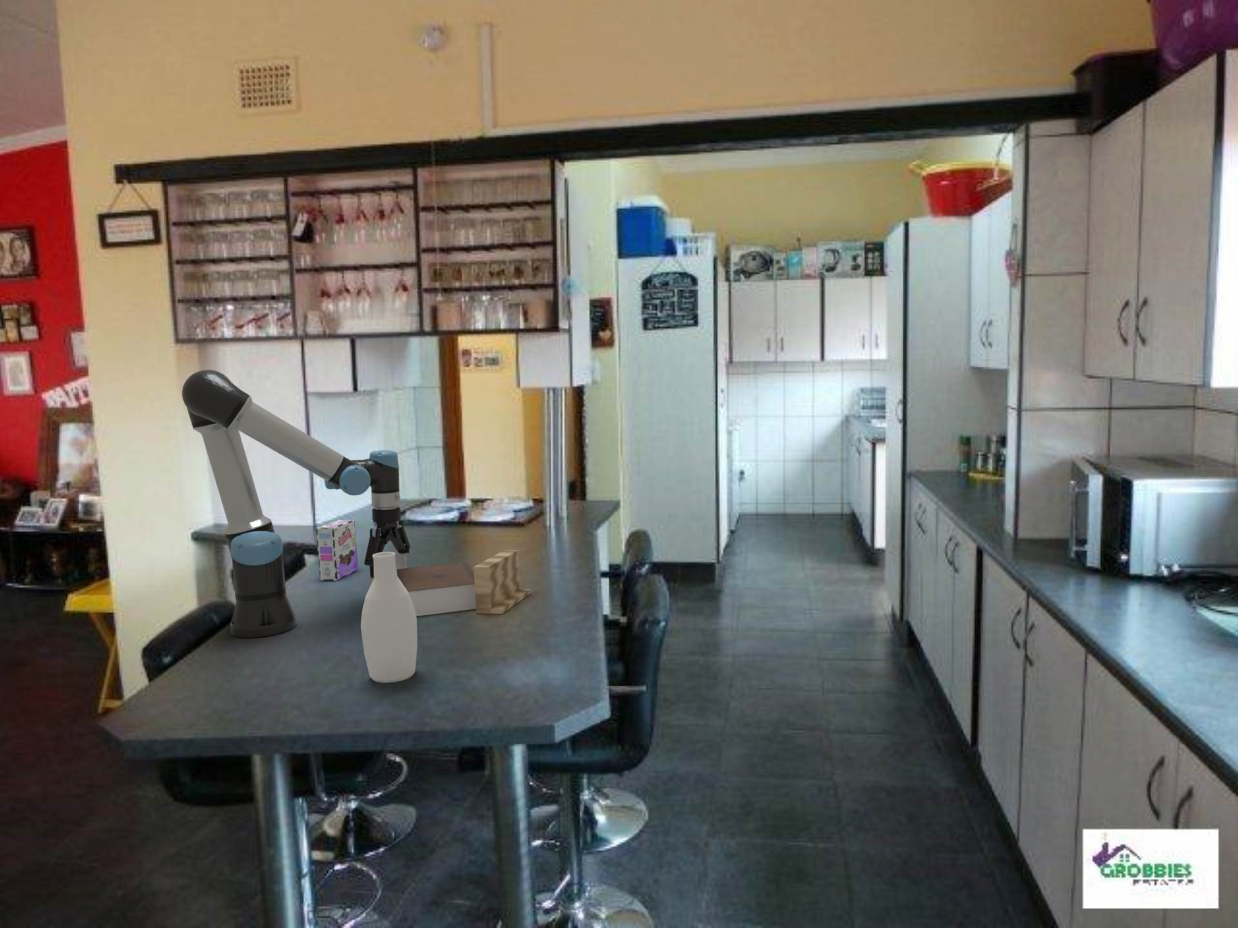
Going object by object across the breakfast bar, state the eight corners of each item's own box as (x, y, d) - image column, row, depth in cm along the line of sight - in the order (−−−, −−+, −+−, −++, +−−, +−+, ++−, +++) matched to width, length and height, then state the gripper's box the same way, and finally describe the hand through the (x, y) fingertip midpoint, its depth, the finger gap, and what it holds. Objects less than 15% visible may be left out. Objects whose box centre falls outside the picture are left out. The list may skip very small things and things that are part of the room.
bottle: (425, 664, 189) (416, 547, 186) (414, 683, 178) (406, 558, 175) (372, 667, 189) (363, 549, 186) (358, 686, 178) (348, 561, 175)
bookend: (501, 614, 225) (499, 567, 224) (475, 613, 227) (472, 566, 226) (530, 593, 244) (528, 550, 243) (506, 592, 246) (503, 549, 245)
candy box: (337, 581, 268) (332, 527, 266) (319, 581, 269) (314, 527, 267) (359, 570, 281) (355, 519, 279) (342, 570, 282) (338, 519, 280)
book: (387, 620, 224) (385, 594, 224) (380, 593, 251) (378, 571, 250) (483, 607, 232) (482, 583, 231) (467, 583, 258) (465, 561, 258)
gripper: (374, 516, 231) (377, 595, 234) (420, 499, 255) (423, 572, 258) (348, 514, 233) (352, 593, 236) (396, 498, 257) (399, 570, 260)
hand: (389, 582), depth 247 cm, fingers open, 13 cm apart
